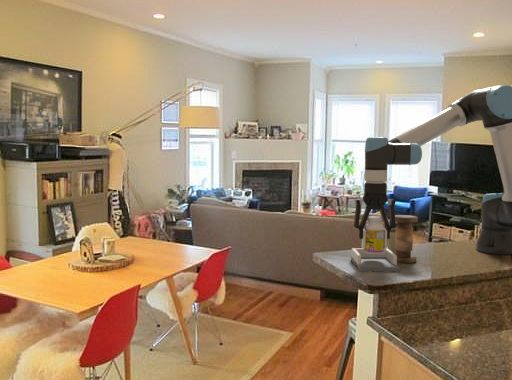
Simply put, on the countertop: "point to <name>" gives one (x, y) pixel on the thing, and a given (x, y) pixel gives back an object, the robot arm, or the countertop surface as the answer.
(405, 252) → the spool post
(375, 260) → the grey shallow tray
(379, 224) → the supplement bottle
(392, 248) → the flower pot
